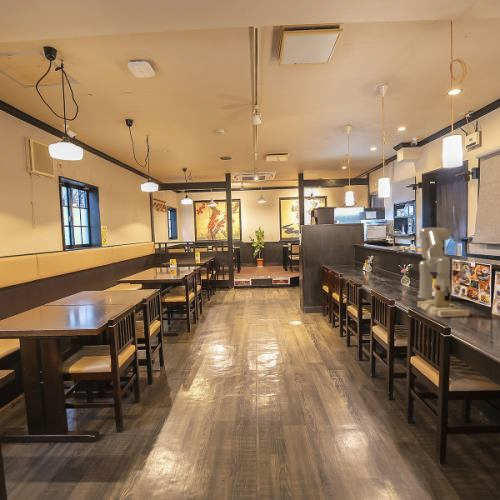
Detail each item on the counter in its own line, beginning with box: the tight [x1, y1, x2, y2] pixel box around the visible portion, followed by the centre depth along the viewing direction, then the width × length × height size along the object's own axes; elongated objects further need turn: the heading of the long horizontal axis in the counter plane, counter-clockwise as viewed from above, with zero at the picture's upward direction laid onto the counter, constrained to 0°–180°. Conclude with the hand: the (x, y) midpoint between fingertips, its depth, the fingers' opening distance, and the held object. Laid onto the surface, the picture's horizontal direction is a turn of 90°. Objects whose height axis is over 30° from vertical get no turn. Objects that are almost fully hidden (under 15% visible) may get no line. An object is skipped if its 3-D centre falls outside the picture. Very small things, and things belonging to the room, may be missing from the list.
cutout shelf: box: [416, 300, 470, 318], centre depth 219 cm, size 26×20×4 cm
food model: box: [433, 284, 451, 308], centre depth 218 cm, size 10×7×20 cm
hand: (442, 299), depth 218 cm, fingers open, 9 cm apart
